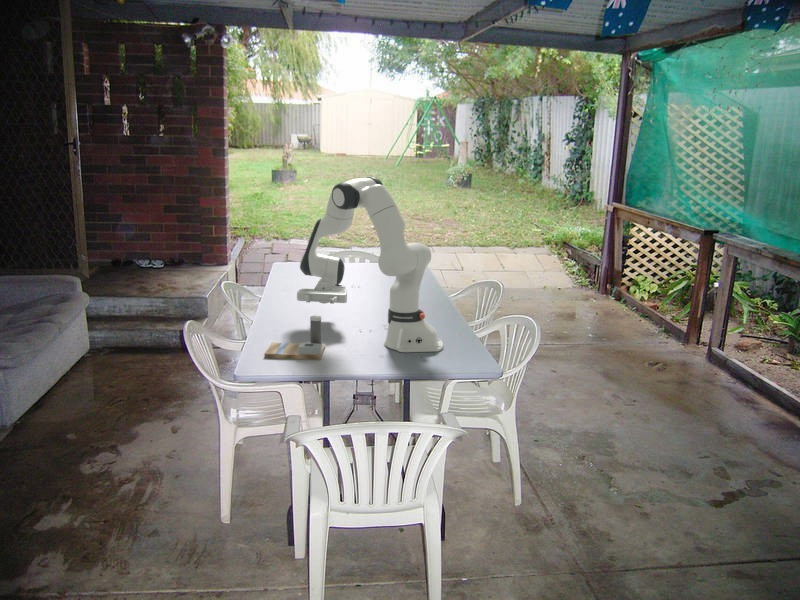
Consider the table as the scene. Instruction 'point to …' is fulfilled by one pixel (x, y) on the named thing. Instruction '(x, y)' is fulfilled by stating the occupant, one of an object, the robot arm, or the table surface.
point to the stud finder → (310, 349)
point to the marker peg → (315, 329)
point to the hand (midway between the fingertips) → (319, 301)
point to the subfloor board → (289, 351)
